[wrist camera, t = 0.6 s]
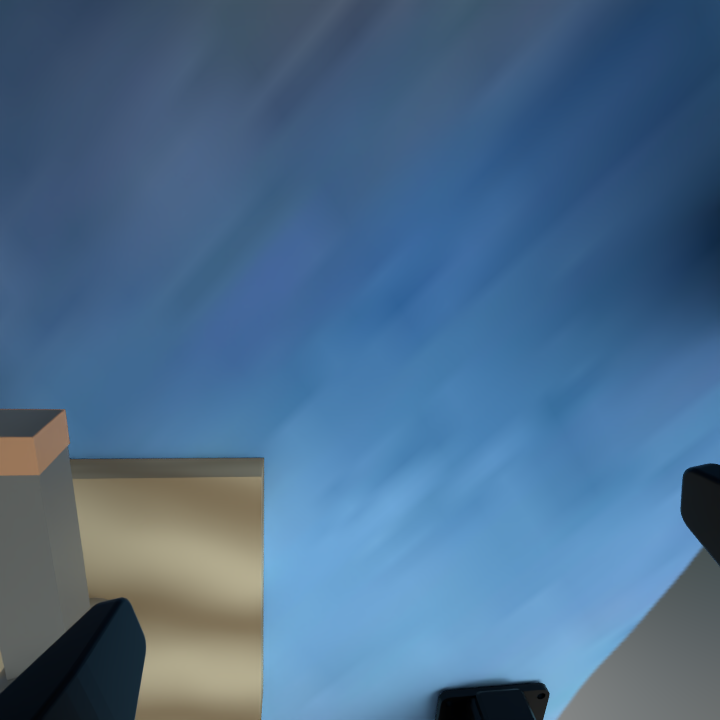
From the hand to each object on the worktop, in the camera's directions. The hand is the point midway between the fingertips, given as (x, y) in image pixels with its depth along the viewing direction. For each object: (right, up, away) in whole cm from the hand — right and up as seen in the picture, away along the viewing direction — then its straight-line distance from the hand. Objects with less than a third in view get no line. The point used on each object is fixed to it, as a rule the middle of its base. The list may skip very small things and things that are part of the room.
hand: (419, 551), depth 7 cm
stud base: (-13, -8, +14) cm, 21 cm away
